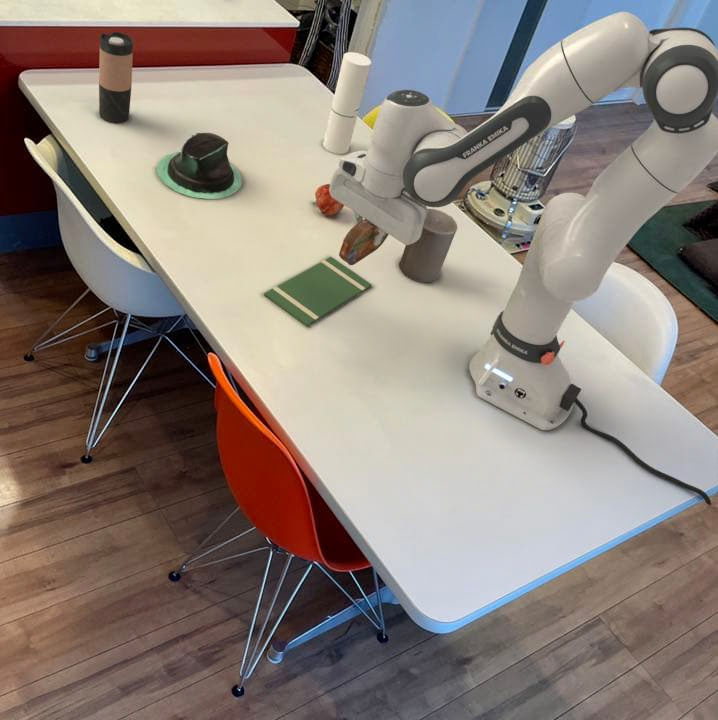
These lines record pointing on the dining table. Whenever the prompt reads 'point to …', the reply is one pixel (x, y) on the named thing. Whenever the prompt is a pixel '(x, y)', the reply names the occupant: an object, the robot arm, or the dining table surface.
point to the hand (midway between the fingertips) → (366, 238)
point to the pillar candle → (429, 247)
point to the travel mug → (115, 76)
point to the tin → (359, 242)
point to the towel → (317, 291)
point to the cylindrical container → (346, 102)
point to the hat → (201, 168)
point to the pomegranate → (327, 201)
